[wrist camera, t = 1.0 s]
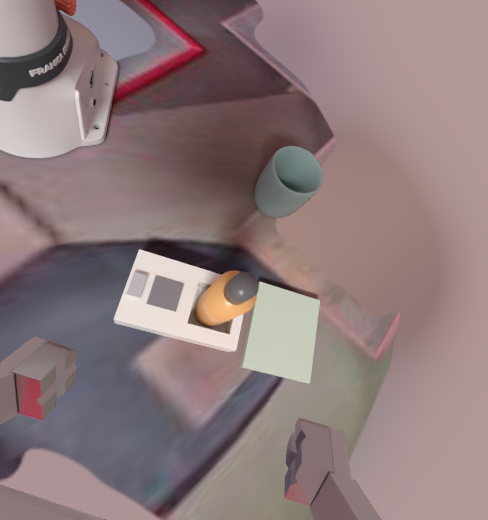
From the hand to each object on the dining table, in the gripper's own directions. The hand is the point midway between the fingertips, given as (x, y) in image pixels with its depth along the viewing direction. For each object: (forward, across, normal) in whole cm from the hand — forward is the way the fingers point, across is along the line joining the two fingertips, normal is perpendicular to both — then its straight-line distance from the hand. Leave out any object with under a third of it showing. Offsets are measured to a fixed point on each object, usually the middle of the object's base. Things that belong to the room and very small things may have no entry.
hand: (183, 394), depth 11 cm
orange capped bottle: (+28, +3, +16) cm, 32 cm away
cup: (+44, 0, +3) cm, 44 cm away
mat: (+31, -7, +18) cm, 36 cm away
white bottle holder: (+27, +7, +16) cm, 32 cm away
